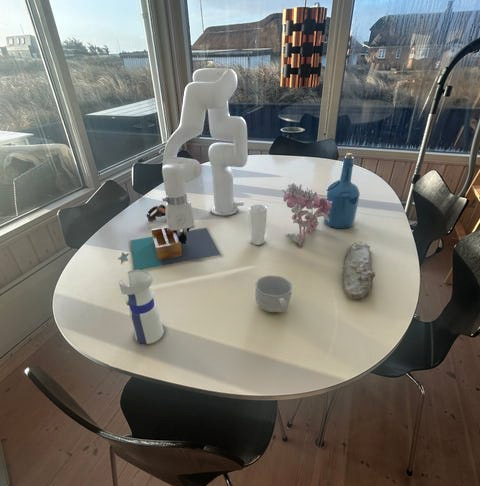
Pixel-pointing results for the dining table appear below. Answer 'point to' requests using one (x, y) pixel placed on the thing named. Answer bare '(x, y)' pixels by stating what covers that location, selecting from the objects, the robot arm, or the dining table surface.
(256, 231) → the drinking glass
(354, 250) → the long grey stone
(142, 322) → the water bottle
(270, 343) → the dining table surface
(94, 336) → the dining table surface
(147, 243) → the mat
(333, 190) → the wine bottle
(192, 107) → the robot arm
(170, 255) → the rack
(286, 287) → the teacup
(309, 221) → the flower
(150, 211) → the pottery mug
